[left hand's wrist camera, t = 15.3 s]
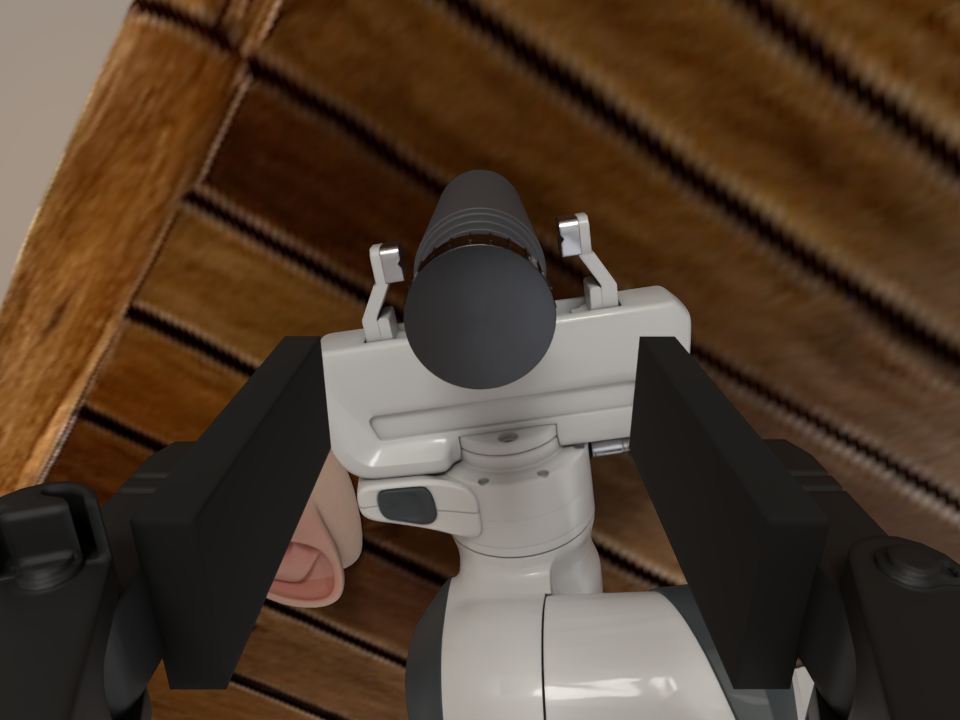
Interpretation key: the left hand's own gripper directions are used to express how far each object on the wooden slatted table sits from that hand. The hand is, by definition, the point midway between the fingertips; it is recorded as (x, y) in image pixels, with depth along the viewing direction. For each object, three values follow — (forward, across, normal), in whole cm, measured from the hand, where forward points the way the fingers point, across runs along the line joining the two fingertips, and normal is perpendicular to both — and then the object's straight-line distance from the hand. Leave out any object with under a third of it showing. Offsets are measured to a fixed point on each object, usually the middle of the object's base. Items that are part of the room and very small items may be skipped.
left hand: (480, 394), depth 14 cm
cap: (+6, 0, 0) cm, 6 cm away
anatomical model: (+26, +14, +20) cm, 35 cm away
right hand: (+19, 0, 0) cm, 19 cm away
